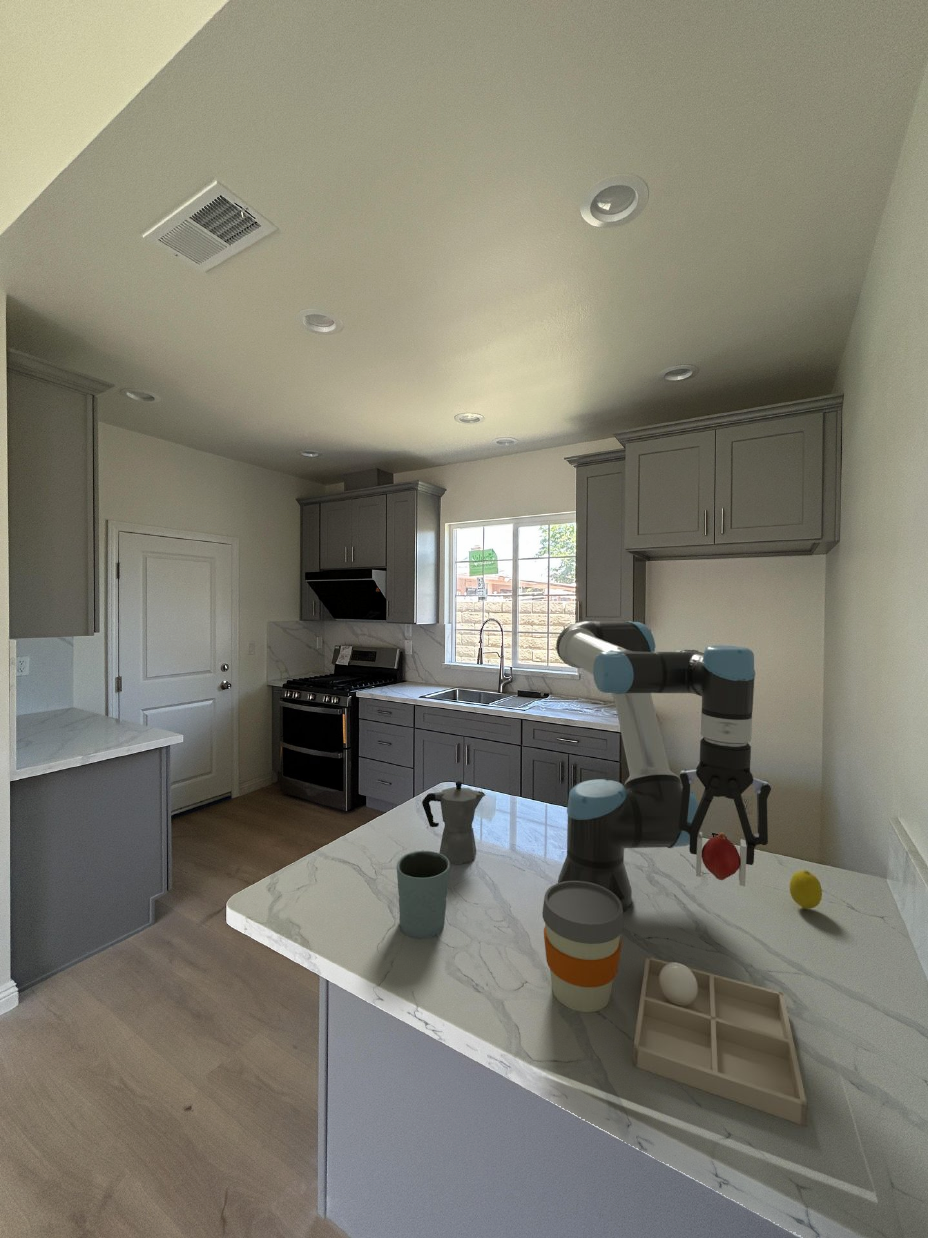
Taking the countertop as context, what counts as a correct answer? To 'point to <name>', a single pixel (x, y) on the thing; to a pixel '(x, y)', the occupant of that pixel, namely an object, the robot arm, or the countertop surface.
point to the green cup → (422, 892)
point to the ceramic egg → (678, 984)
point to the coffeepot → (456, 821)
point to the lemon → (805, 889)
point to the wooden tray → (722, 1042)
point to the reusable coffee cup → (582, 942)
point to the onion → (720, 857)
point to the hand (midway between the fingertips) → (719, 876)
